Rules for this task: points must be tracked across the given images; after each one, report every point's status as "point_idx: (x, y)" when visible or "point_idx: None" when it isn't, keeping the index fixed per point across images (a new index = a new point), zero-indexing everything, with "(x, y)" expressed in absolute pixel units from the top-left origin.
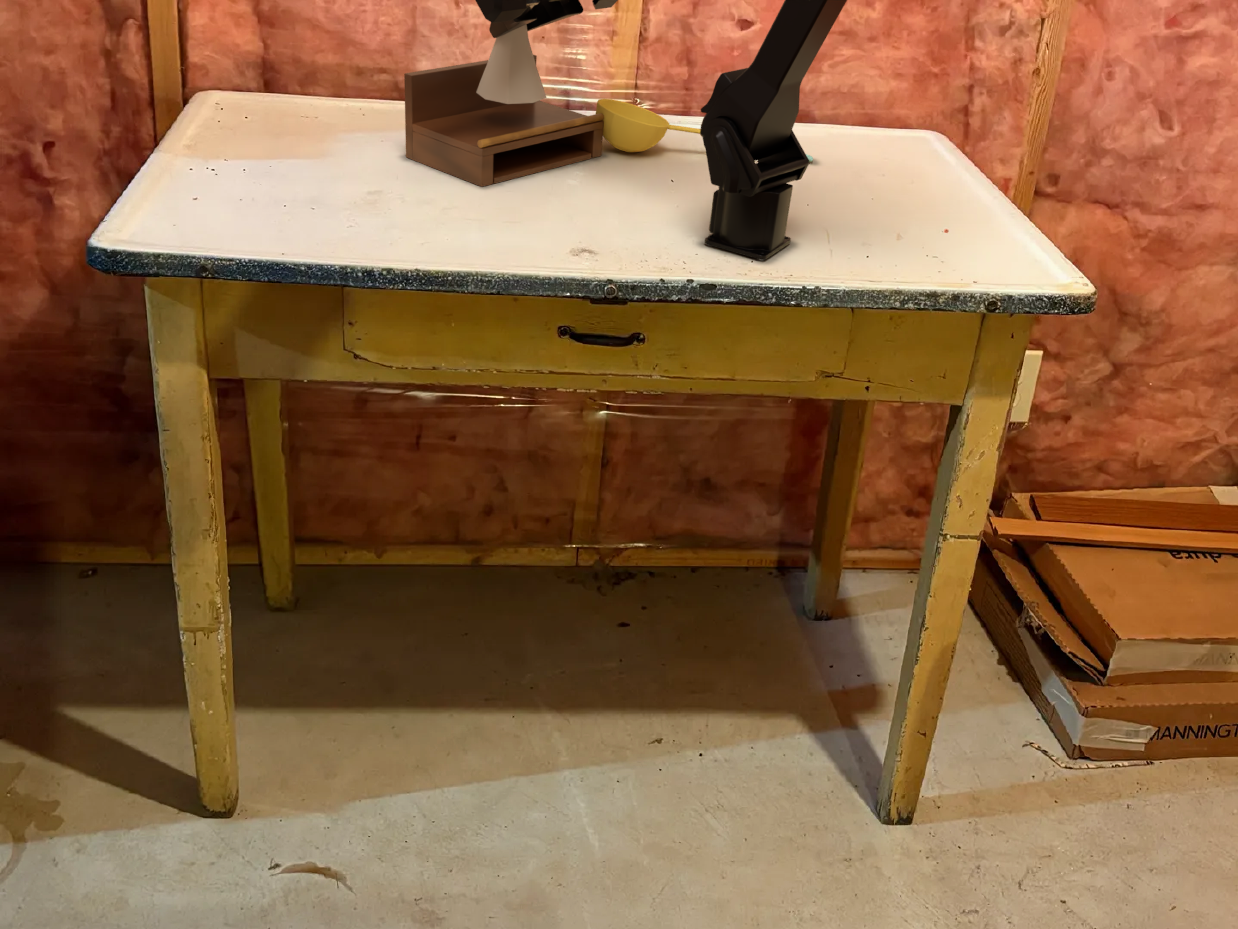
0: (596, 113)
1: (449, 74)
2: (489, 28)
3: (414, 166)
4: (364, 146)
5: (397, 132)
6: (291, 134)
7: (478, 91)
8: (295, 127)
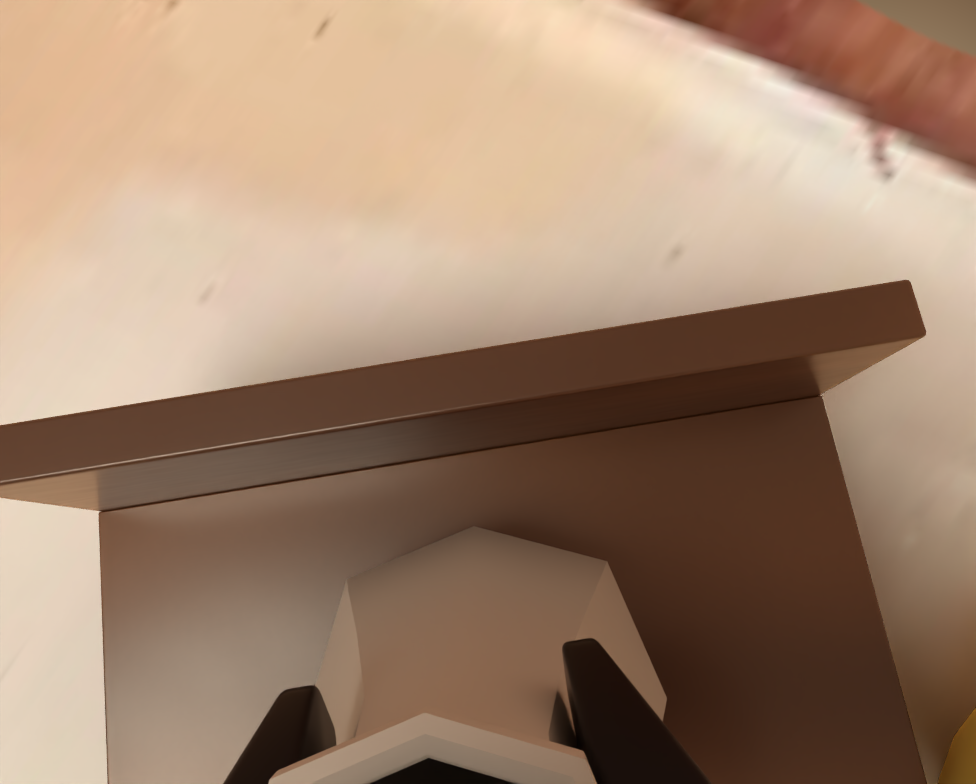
0: (973, 757)
1: (242, 451)
2: (272, 706)
3: None
4: (122, 319)
5: (310, 228)
6: (3, 123)
7: (339, 606)
8: (57, 66)
